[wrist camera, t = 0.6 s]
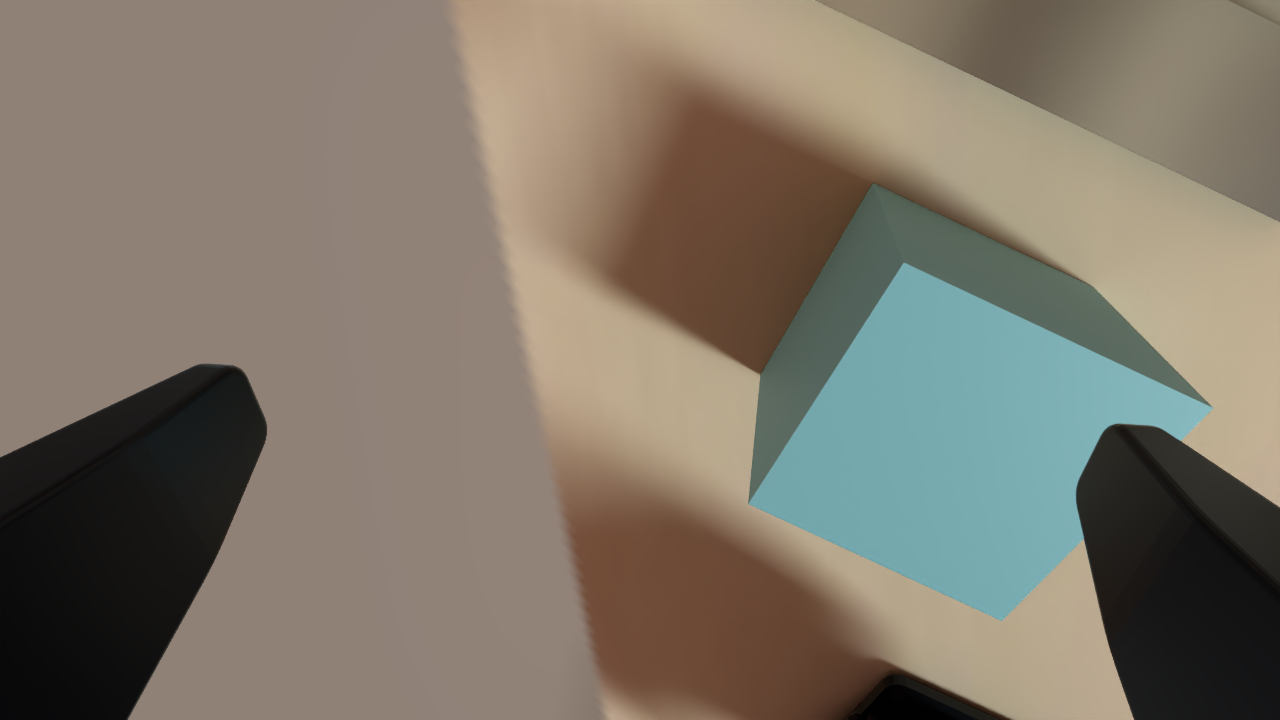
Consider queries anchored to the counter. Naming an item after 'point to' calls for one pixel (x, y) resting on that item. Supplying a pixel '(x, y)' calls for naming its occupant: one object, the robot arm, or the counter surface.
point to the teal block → (949, 404)
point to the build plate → (1124, 73)
